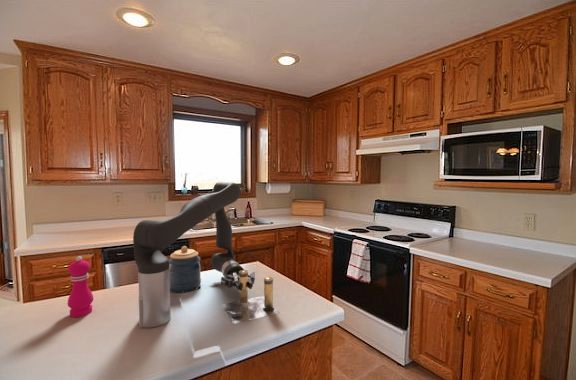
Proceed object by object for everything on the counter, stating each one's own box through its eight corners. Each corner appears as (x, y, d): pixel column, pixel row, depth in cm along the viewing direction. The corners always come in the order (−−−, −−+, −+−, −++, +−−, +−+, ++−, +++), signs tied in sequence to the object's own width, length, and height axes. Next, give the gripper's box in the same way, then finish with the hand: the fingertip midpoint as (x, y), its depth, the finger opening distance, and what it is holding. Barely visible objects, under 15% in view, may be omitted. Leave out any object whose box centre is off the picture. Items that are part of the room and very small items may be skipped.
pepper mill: (91, 306, 103) (89, 252, 102) (95, 313, 98) (93, 256, 96) (66, 312, 98) (64, 256, 97) (69, 320, 93) (67, 260, 91)
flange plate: (233, 327, 89) (233, 323, 88) (222, 307, 102) (222, 304, 102) (279, 316, 96) (279, 312, 96) (263, 298, 109) (263, 295, 109)
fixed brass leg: (266, 312, 96) (266, 280, 95) (262, 308, 99) (262, 277, 98) (274, 310, 97) (274, 279, 97) (271, 306, 100) (270, 276, 99)
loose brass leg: (240, 303, 99) (240, 273, 99) (238, 300, 102) (238, 270, 102) (249, 302, 101) (249, 272, 100) (246, 298, 104) (246, 269, 103)
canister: (200, 279, 129) (200, 241, 128) (201, 291, 116) (200, 248, 115) (170, 283, 124) (169, 243, 123) (167, 295, 112) (166, 251, 111)
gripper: (215, 265, 111) (226, 279, 95) (249, 260, 117) (264, 273, 102) (215, 283, 111) (226, 301, 96) (249, 278, 117) (264, 294, 102)
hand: (246, 286), depth 99 cm, fingers closed on loose brass leg, 3 cm apart
